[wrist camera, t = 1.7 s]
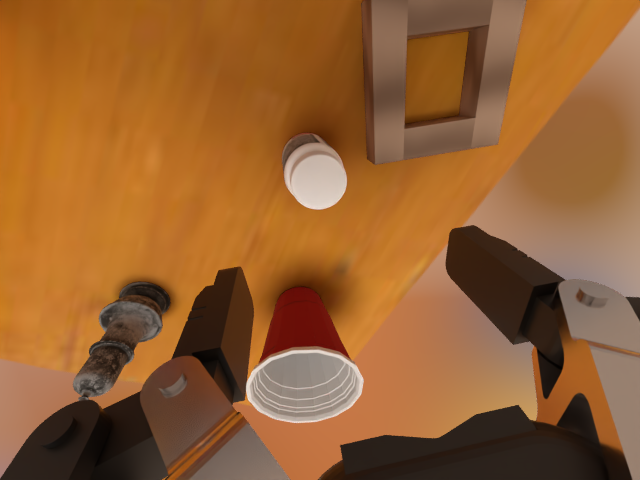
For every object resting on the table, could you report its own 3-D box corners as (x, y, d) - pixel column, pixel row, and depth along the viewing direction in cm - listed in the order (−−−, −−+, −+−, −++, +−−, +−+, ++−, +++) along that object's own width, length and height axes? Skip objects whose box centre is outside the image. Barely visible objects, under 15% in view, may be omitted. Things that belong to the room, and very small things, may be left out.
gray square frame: (361, 3, 21) (371, -8, 19) (506, -16, 22) (532, -28, 19) (367, 158, 27) (375, 164, 25) (480, 140, 28) (497, 144, 25)
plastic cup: (259, 264, 31) (251, 352, 21) (347, 273, 33) (379, 355, 23) (250, 331, 36) (239, 429, 25) (327, 335, 38) (346, 425, 28)
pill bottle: (276, 174, 26) (276, 206, 19) (289, 125, 24) (295, 139, 17) (321, 187, 28) (337, 221, 20) (337, 141, 26) (361, 161, 18)
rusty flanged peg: (182, 311, 33) (138, 414, 22) (134, 323, 33) (68, 432, 22) (157, 274, 30) (94, 372, 19) (105, 287, 30) (13, 393, 19)
